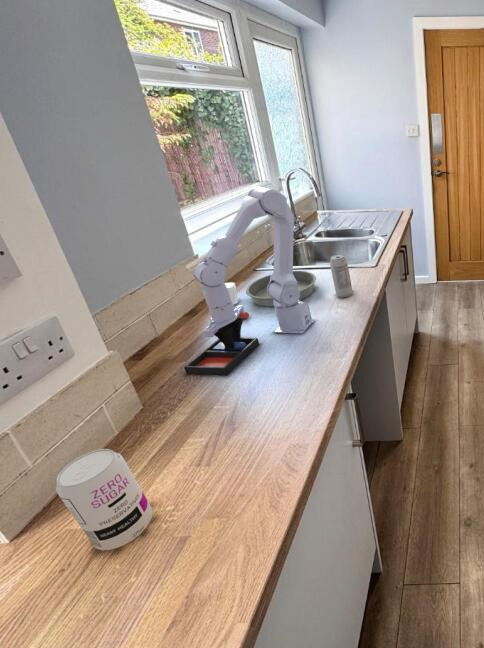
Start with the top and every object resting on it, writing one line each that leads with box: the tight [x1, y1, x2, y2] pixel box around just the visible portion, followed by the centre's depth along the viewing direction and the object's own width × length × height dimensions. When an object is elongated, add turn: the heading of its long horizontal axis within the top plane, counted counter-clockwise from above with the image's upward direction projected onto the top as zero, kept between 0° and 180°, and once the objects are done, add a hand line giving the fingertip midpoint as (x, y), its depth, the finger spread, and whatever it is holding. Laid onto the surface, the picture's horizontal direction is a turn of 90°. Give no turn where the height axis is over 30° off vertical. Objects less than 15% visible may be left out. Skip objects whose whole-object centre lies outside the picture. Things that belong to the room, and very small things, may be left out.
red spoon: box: [238, 311, 250, 320], centre depth 137 cm, size 9×3×2 cm, turn 83°
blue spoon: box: [213, 342, 247, 351], centre depth 117 cm, size 9×3×2 cm, turn 83°
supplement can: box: [55, 448, 154, 551], centre depth 66 cm, size 8×8×15 cm
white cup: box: [225, 281, 239, 306], centre depth 147 cm, size 7×7×7 cm
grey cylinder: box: [329, 253, 353, 298], centre depth 147 cm, size 6×6×15 cm
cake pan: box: [245, 270, 317, 307], centre depth 152 cm, size 25×25×4 cm
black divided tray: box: [183, 336, 260, 377], centre depth 114 cm, size 12×15×2 cm
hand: (233, 345), depth 117 cm, fingers closed on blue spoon, 2 cm apart
